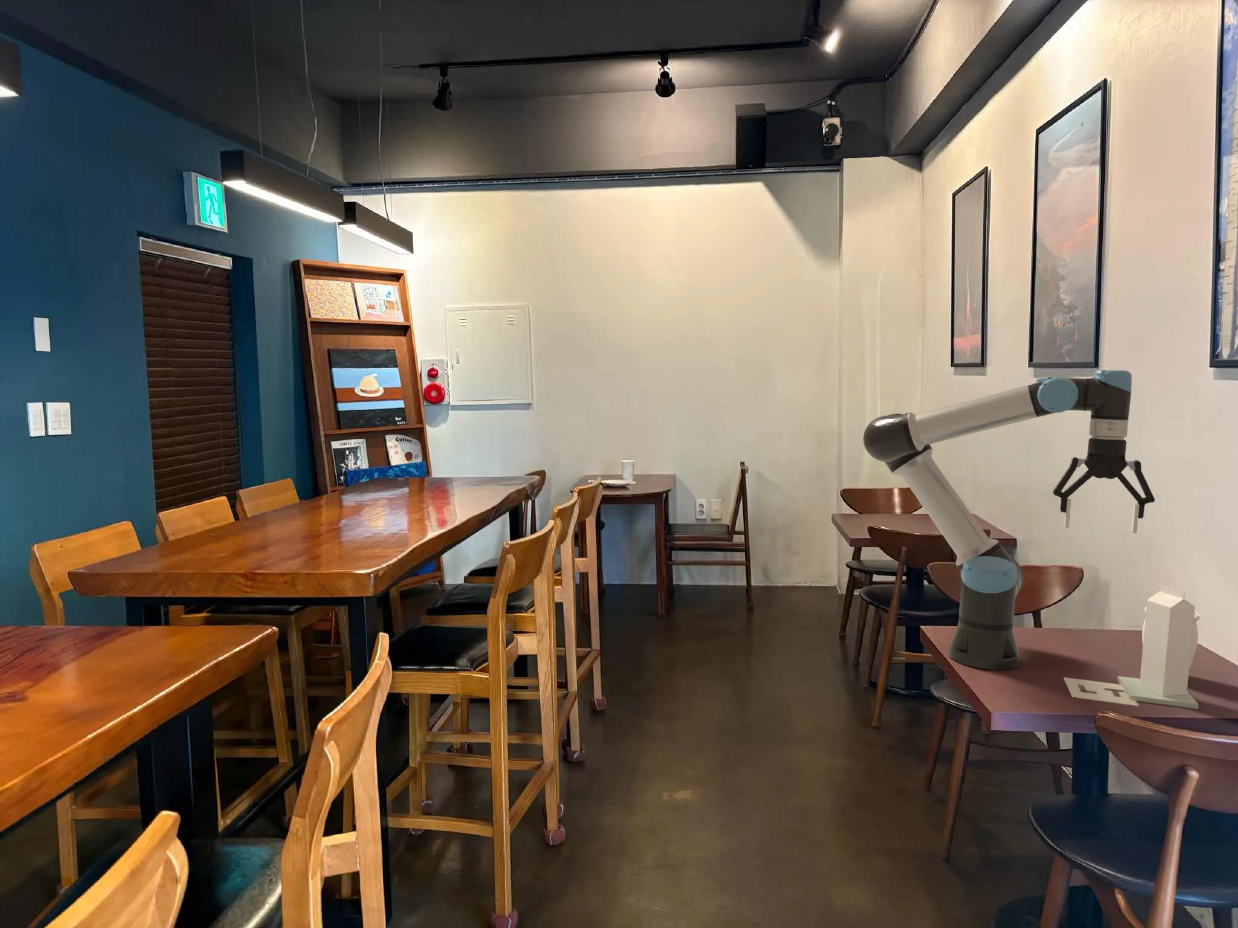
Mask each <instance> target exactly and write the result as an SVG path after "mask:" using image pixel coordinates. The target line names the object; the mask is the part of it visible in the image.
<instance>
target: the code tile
mask: <svg viewBox="0 0 1238 928" xmlns="http://www.w3.org/2000/svg"><path fill="white" fill-rule="evenodd" d="M1063 680H1064V682H1065V685H1066V687H1067V690H1068V691H1069V693H1070V696H1071V697H1072V698H1074V697H1076V698H1075V699H1083V700H1089V699H1090V701H1098V702H1103V701H1104V702H1105V703H1113V704H1119V705H1128V706H1134V707H1139V706H1140V705H1139V704H1138V701H1135V700H1130V699H1129V698H1128V696H1127V694H1126V693H1125V691H1124V690H1123V688H1122V686H1121V685H1120V684H1119V683H1110V682H1104V681H1097V680H1096V681H1095V680H1087V679H1080V678H1070V677H1063Z"/></svg>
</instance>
